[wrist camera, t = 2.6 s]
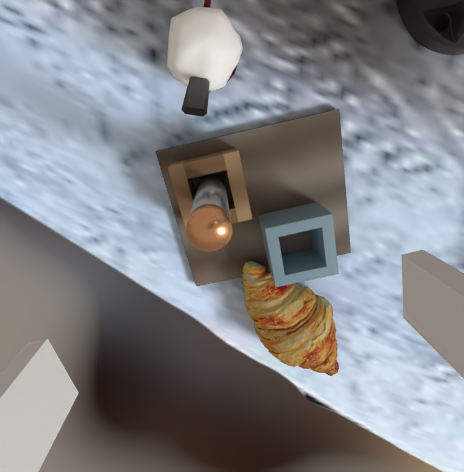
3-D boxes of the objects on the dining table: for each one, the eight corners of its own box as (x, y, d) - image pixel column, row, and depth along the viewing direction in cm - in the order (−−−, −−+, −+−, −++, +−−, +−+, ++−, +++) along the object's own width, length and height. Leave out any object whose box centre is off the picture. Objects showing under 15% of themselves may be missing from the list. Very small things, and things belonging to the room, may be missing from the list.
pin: (195, 176, 33) (180, 213, 19) (222, 170, 33) (226, 203, 19) (202, 202, 34) (193, 255, 20) (227, 196, 34) (236, 246, 20)
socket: (258, 215, 35) (265, 228, 30) (316, 202, 34) (332, 213, 30) (268, 267, 37) (276, 287, 32) (322, 255, 37) (338, 273, 32)
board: (157, 151, 32) (155, 151, 32) (336, 109, 32) (339, 109, 31) (196, 283, 38) (196, 286, 37) (348, 250, 38) (350, 252, 37)
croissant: (226, 258, 41) (202, 301, 35) (285, 233, 35) (268, 280, 29) (308, 352, 47) (299, 402, 41) (371, 344, 41) (371, 402, 35)
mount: (173, 162, 32) (167, 167, 28) (235, 148, 32) (238, 150, 28) (190, 222, 34) (187, 233, 31) (248, 208, 34) (252, 219, 30)
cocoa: (196, -5, 28) (183, -97, 16) (254, 35, 29) (279, -24, 18) (154, 94, 30) (117, 74, 19) (209, 126, 32) (205, 125, 20)
